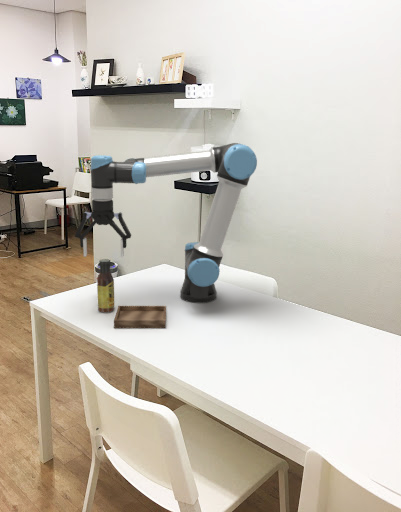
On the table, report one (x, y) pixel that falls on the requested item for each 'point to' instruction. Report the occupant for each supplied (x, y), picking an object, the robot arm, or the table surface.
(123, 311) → the tray
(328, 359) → the table surface
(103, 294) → the sauce bottle
